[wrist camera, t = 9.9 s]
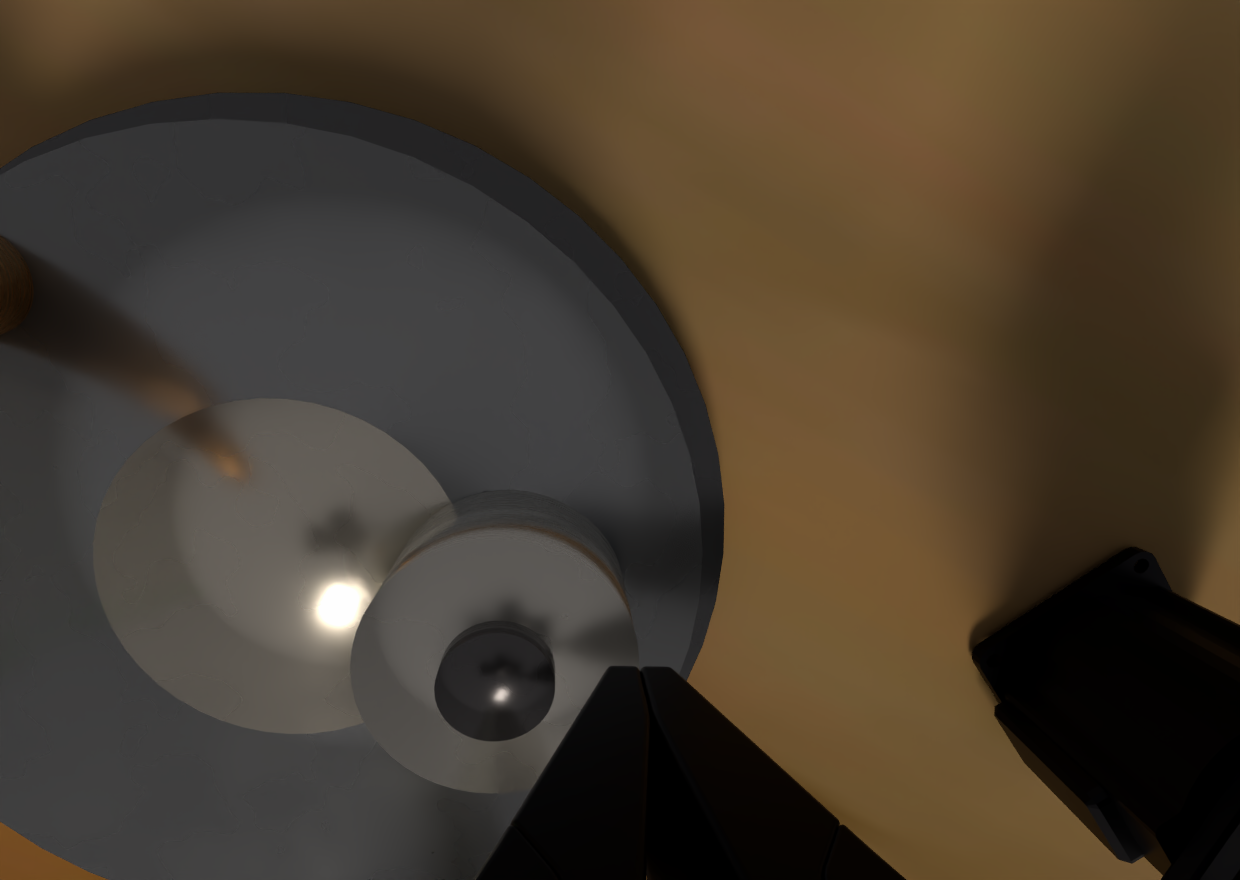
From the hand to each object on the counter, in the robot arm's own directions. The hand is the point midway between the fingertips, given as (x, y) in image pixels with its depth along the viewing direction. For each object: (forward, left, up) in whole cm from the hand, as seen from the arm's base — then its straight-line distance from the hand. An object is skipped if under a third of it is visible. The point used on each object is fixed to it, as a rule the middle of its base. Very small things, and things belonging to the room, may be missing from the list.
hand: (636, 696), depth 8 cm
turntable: (+7, -3, -9) cm, 12 cm away
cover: (+3, +1, -8) cm, 9 cm away
